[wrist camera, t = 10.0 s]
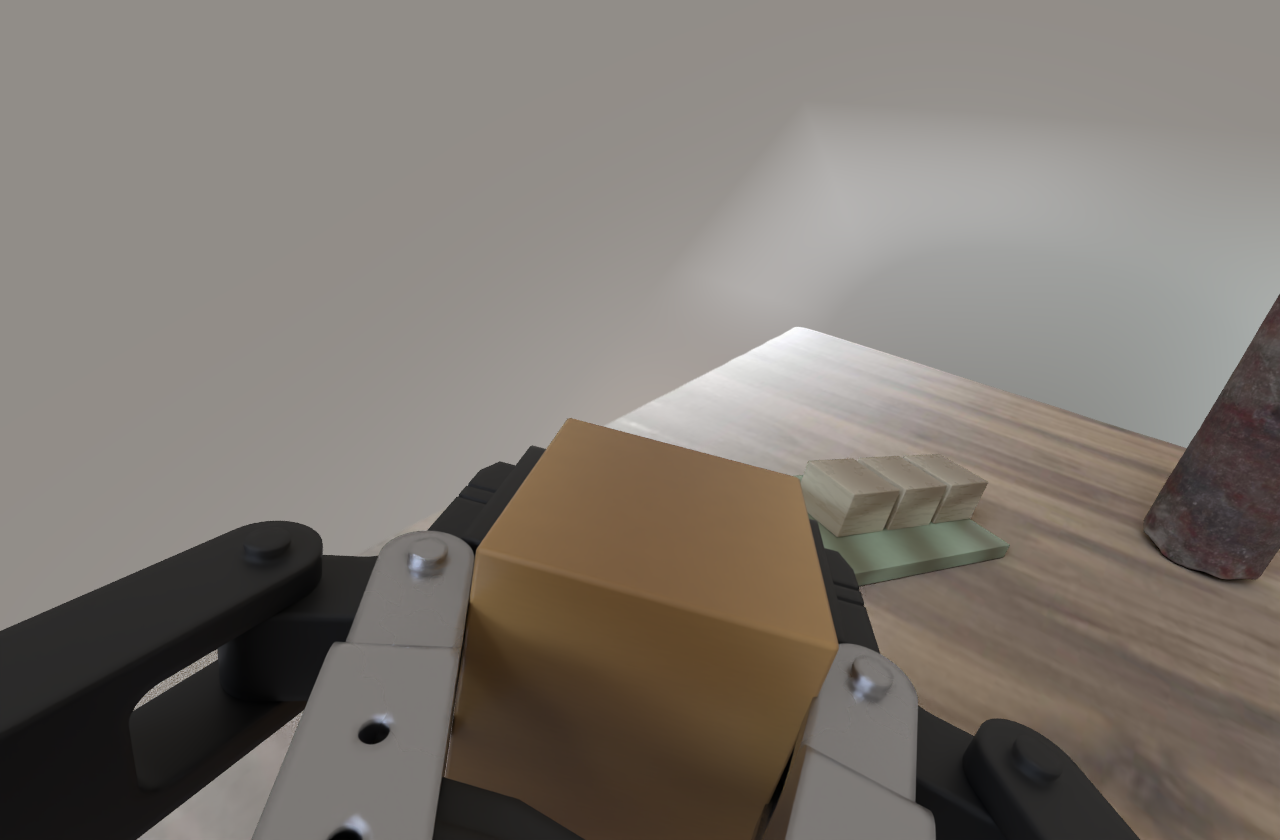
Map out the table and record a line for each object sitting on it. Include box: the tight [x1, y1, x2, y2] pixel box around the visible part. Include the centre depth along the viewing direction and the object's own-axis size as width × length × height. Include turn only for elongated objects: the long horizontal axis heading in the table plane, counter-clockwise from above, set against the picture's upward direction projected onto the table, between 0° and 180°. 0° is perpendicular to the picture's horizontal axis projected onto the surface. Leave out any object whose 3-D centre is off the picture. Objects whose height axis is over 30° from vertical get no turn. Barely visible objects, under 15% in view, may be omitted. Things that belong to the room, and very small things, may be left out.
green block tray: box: [793, 454, 1010, 586], centre depth 37 cm, size 26×10×4 cm, turn 117°
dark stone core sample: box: [1144, 295, 1280, 580], centre depth 43 cm, size 8×7×20 cm
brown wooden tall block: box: [445, 418, 839, 840], centre depth 11 cm, size 4×4×9 cm
